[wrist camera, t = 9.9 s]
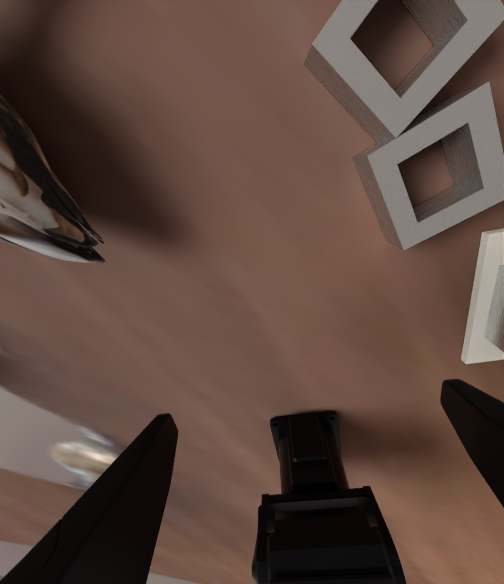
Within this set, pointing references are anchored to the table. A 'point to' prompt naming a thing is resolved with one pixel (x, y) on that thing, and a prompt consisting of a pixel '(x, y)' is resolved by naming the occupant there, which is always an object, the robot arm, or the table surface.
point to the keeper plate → (483, 300)
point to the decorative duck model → (37, 198)
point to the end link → (496, 313)
